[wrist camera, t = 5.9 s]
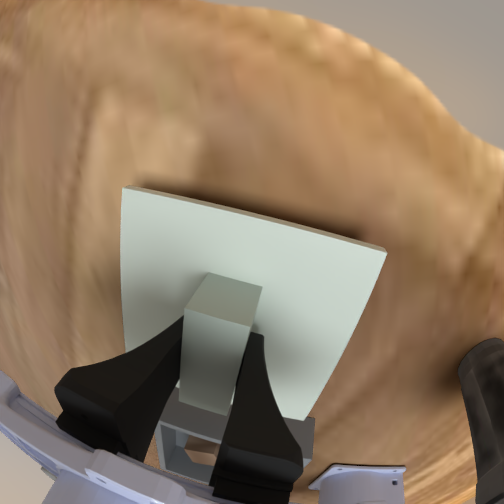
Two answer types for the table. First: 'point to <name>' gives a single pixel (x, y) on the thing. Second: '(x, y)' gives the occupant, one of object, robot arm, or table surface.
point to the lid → (241, 294)
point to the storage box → (207, 436)
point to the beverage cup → (486, 416)
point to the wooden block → (202, 450)
